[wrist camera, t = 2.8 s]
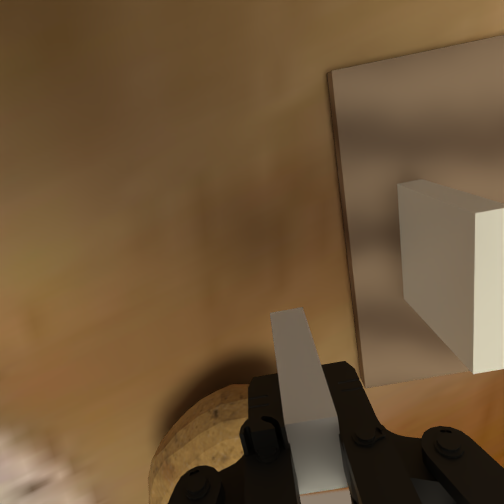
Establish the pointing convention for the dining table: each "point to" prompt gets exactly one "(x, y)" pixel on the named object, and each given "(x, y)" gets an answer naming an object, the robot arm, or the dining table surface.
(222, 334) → the dining table surface
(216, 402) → the potato
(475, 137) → the board
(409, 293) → the tile
